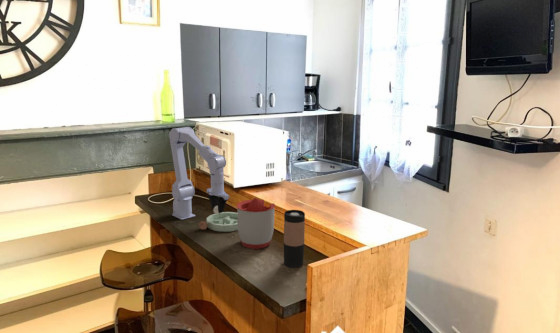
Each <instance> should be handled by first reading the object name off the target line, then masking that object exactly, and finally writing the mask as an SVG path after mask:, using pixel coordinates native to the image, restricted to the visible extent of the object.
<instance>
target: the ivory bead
mask: <svg viewBox="0 0 560 333" xmlns="http://www.w3.org/2000/svg"><path fill="white" fill-rule="evenodd" d="M212 211H213V214H221V213H219V212H218V206H215V207H214V209H212Z"/></svg>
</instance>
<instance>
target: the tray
mask: <svg viewBox="0 0 560 333" xmlns="http://www.w3.org/2000/svg"><path fill="white" fill-rule="evenodd" d="M206 222H207V224H208V227H207V228H208V229H209V230H211V231H214V232H222V233H227V232H228V233H229V232H235V231H238V216H237V212H234V211H223V212H222V213H221V214H215V213H213V214H210V215H209V216H207V217H206Z"/></svg>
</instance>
